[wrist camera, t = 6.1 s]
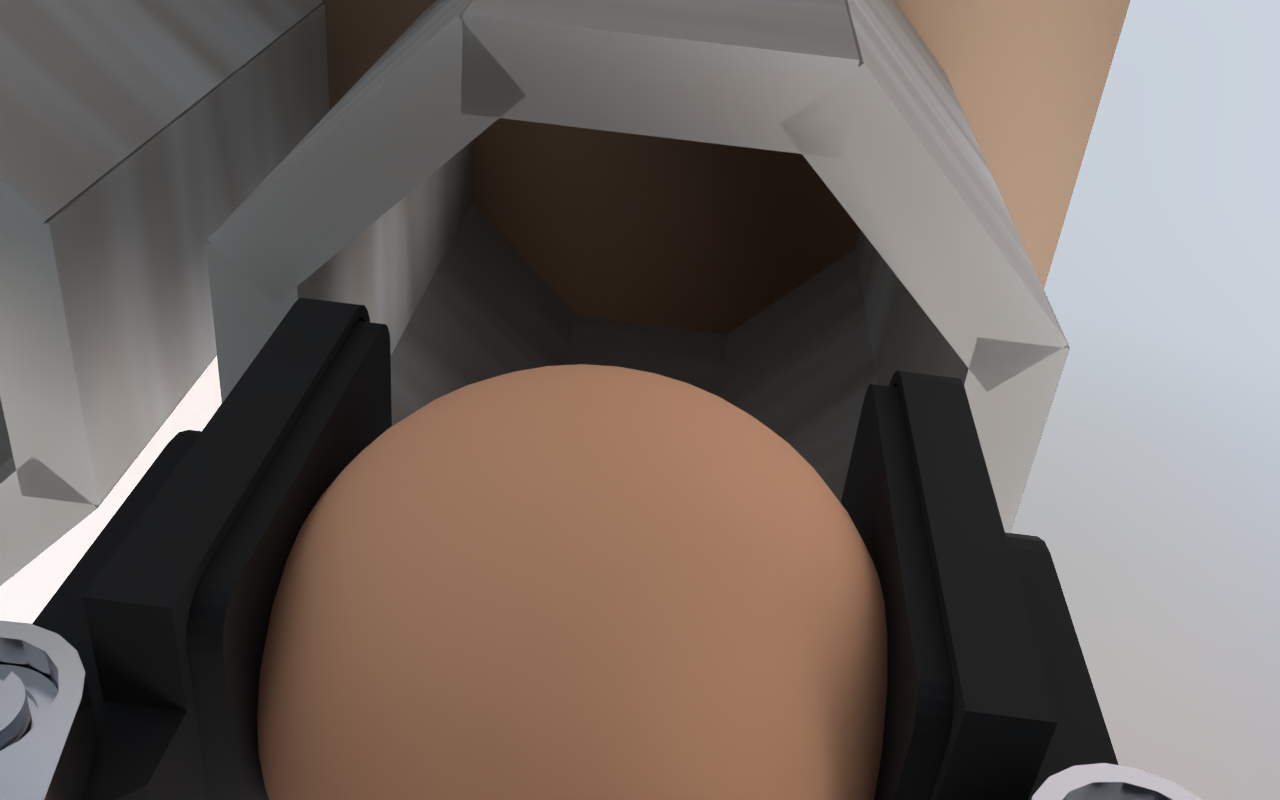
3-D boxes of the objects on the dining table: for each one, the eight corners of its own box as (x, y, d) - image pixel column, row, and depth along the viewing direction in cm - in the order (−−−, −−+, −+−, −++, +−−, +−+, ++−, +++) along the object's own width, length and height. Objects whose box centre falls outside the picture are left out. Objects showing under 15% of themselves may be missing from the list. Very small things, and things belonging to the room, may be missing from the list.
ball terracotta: (923, 296, 9) (1035, 732, 6) (823, 708, 12) (854, 1212, 8) (352, 228, 10) (78, 608, 6) (366, 649, 12) (180, 1119, 8)
